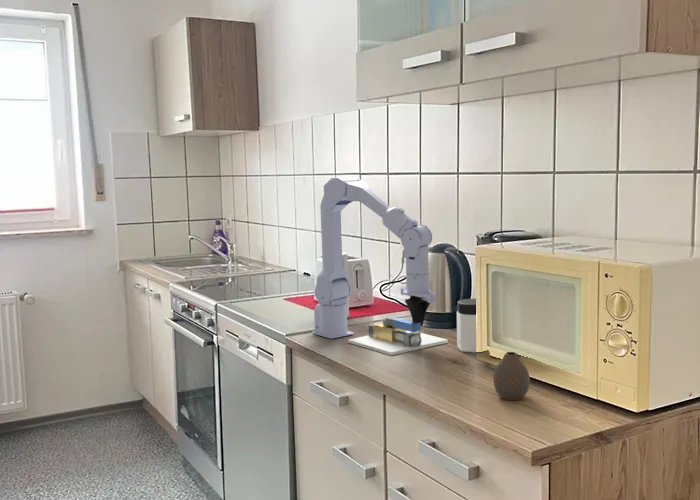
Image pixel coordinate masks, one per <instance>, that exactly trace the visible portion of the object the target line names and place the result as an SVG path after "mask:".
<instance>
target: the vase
mask: <svg viewBox="0 0 700 500" xmlns="http://www.w3.org/2000/svg"><path fill="white" fill-rule="evenodd" d="M529 373H530V372H529V369H528V367H527V366H526V364H525V362H523V360H521V358H520V356H518V354H517V353H515V352H507V353H505V355H504V357H503V359H502V360H501V359H500V361H499V363H498V364H496V366H495V368H494V373H493V376H492V377H493V385H494V386H493V388H494V389H495V391H496V393H497V394H498V396H500V398H502V399H503V400H507V401H519V400H521V399H523V398H524V397H525V396H526V395H527V393H528V391H529V388H530V383H531V379H530V378H531V377H530V374H529Z"/></svg>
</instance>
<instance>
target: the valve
mask: <svg viewBox="0 0 700 500" xmlns="http://www.w3.org/2000/svg"><path fill="white" fill-rule="evenodd" d="M367 327H368V335H369V336H371V337H373V338H376V339H380V340H384V341H388V342H390V343H395V342H402V343H404V346H407V347H411V346H416V347H417V346H419V345H420V344H421V341H422V339H421V333H422V332H420V331H416V332H411V333H407V332H406V330H402V329H398V328H394V327H393V326H385V325H383V322H377V323H372V324H368V325H367Z"/></svg>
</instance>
